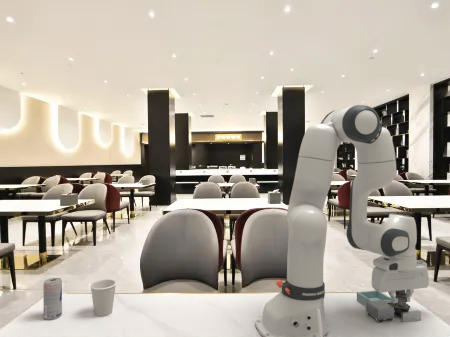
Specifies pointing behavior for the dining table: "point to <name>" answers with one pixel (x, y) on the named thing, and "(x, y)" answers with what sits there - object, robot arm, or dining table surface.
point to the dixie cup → (103, 296)
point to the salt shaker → (400, 304)
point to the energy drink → (52, 298)
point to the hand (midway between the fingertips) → (400, 302)
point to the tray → (371, 297)
